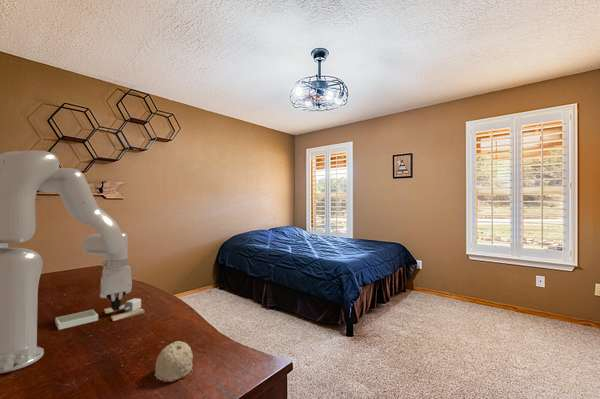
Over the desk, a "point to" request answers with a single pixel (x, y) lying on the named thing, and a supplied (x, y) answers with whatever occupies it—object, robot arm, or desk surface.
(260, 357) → the desk surface
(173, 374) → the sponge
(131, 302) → the usb wall charger
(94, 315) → the tray
